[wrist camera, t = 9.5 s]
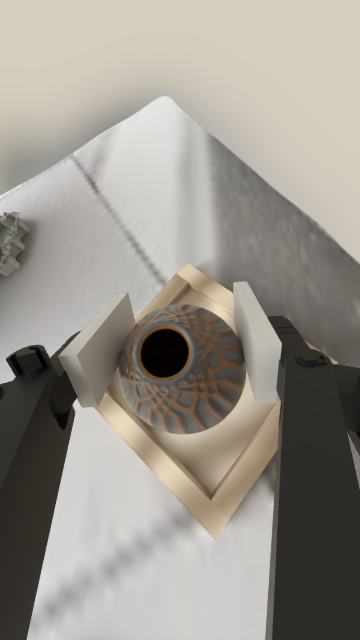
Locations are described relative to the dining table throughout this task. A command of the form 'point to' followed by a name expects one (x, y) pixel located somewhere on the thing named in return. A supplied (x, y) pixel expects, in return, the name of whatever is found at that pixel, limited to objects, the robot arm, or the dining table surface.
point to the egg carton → (12, 242)
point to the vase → (182, 369)
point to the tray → (207, 446)
